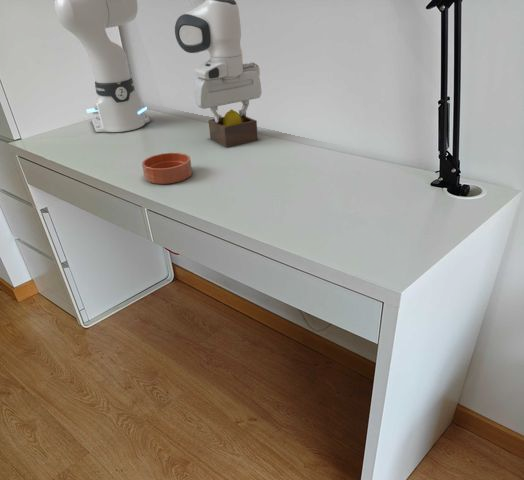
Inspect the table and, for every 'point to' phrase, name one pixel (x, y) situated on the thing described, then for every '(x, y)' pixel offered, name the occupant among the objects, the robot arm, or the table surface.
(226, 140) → the holder
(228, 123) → the lemon
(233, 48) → the robot arm
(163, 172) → the bowl
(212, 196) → the table surface
